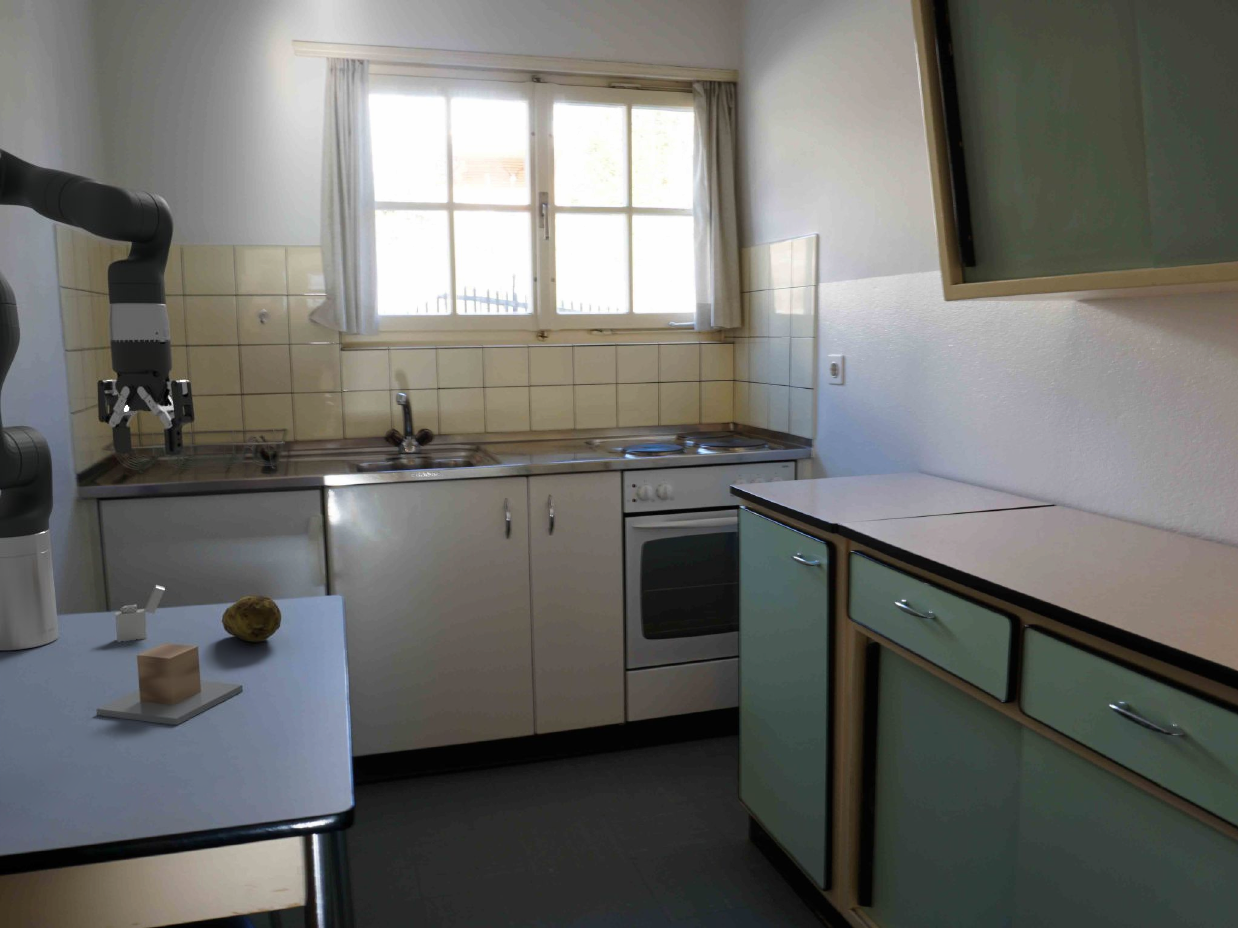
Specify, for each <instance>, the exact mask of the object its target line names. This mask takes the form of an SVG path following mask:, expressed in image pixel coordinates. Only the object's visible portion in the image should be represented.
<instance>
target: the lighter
mask: <svg viewBox="0 0 1238 928" xmlns="http://www.w3.org/2000/svg"><path fill="white" fill-rule="evenodd" d="M152 589H153V590H152V592H151V594H150V596H149V598H148V600H147V603H146V606H145V608H141V609H138V605H137V604H130V605H124V606H122V607H120V609H119V610H120V611H116V612H115V626H116V627H115V628H116V641H117V643H121V641H123V642H128V641H130V640H131V641H137V640H136V639H138V640H145V639H147V638H148V632H147V620H146V619H147V618H146V612H147V613H150V614H152V615H153V614H155V612H156V610H157V609H158V606H159V603H160V601H161V598H162V596H163V595H164V592H165V590H166V589H165V587H164V586H162V585H158V584H155V585H154V588H152Z"/></svg>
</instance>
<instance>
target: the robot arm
mask: <svg viewBox="0 0 1238 928" xmlns="http://www.w3.org/2000/svg"><path fill="white" fill-rule="evenodd" d="M0 205H1V206H19V207H25V208H30V209H32V210H33V211H34V212H36V213H37V214H39V215H40V216H43V218H47V219H49V220H50V221H55V222H58V223H61V224H64V225H68V226H71V227H75V228H79V229H82V230H85V231H86V232H88V233H91V234H92V235H95V236H98V237H100V238H104V239H108V240H112V241H118V242H127V243H128V242H129V243H131V246H130V250H129V254H128V257H127V258H126V259H119V260H116V261H113V262H111V263H110V264H109V265H108V268H107V287H108V288H107V289H108V301H109V302H108V303H109V314H108V315H109V316H108V328H109V330H108V331H109V342H110V355H111V358H110V359H111V369H112V370H113V372H114V373H116V379H115V378H114V379H99V380H98V381H97V411H98V412H97V413H98V415H97V417H98V421H99V422H100V423H105V424H108V425H109V426H110V427H111V430H112V441H113V448H114V450H115V453H116V454H118V455H120V454H121V455H124V454H125V455H126V454H130V453H131V452H132V451H133V448H132V447H133V446H132V435H131V426H129V424H130V422H131V421H132V419H133V417H134V416H135V415H137V414H138V413H139V412H142V411H143V412H152V413H153V415H154V416H156V417H158V418H159V420H160V421H161V422H162V424H163V425H164V427H165V428H164V429H163V434H164V448H165V449H164V450H165V454H166V456H169V457H170V456H179V455H181V453H182V451H183V448H184V443H183V427H184V426H185V425H188V424H191V423H194V422H195V412H194V402H193V394H192V392H193V391H192V385H191V381H190V380H188V379H176V380H171V378H170V372H171V371H172V370H173V359H172V345H171V330H170V329H171V327H170V318H169V314H168V310H167V305H166V304H167V301H166V284H165V272H166V267H167V264H168V258H169V254H170V249H171V245H172V241H173V234H174V218H173V217H174V216H173V214H172V210H171V208H170V206H169V204H168V203H167V201H166V200H165V199H164V198H163V197H162V196H160V195H159V194H156V193H154V192H151V191H150V192H148V191H143V190H138V189H137V190H136V189H133V188H127V187H119V186H116V185H114V186H113V185H110V184H106V183H105V184H104V183H102V182H100V181H98V180H96V179H93V178H90V177H86V176H84V175H78V174H75V173H71V172H67V171H63V170H58V169H53V168H48V167H43V166H39V165H36V164H34V163H31V162H28V161H26V160H24V159H22V158H20V157H18V156H16V155H14V154H12V153H10V152H8V151H6V150H5V149H2V148H0ZM15 295H16V294H15V293H14V290H13V287H12V286H11V284H10V282H9V281H8V279H7V278H6V277H5V274H4V273H3V272H2V271H1V270H0V651H16V650H17V651H18V650H25V649H30V648H36V647H40V646H44V645H47V644H49V643H52V642H54V641H56V640H57V639H58V638H59V628H58V625H59V624H58V615H57V601H56V592H55V591H56V590H55V579H54V569H53V568H54V567H53V566H54V565H53V557H52V556H53V555H52V554H53V553H52V544H51V534H50V517H51V516H52V515H51V514H52V512H53V508H54V490H53V487H54V486H53V484H54V483H53V461H52V453H51V449H50V446H49V443H48V441H47V440H46V438H45V436H44V435H43V434H42V433H41V432H40V431H39V430H38V429H36V428H34V427H32V426H29V425H15V426H13V425H12V426H3V418H2V406H1V405H2V403H1V398H2V391H3V386H4V384H5V383H4V382H5V381H6V378H7V376H8V373H9V371H10V369H11V366H12V364H13V362H14V359H15V357H16V354H17V351H18V349H19V345H20V340H21V329H20V327H21V326H20V321H19V320H20V319H19V314H18V307H17V300H16V296H15ZM170 395H171V396H170ZM108 409H109V410H108Z"/></svg>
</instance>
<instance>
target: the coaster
mask: <svg viewBox="0 0 1238 928" xmlns="http://www.w3.org/2000/svg"><path fill="white" fill-rule="evenodd" d="M200 684H201V692H199V693H197V694H195V695H193V696H191V697H189V698H187V699H184V700H182V701H180V702H178V703H176V704H174V705H167V704H159V703H151V702H143V701H140V691H139V689H137V690H135V691H133V692H130V693H128V694H125V695H124V696H122V697H120V698H117V699H115V700H113V701H110V702H108V703H106V704H104V705H101V706H99V707H97V708H96V716H103V717H110V718H112V717H113V718H117V719H127V720H132V721H133V720H135V721H143V722H150V723H157V724H167V725H174V726H178V725H179V724H182V723H183V722H185V721H188V720H190V719H191V718H194V717H195V716H197V715H199V714H202V713H203V712H204V711H207V710H208V709H211V708H212V707H214V706H217V705H219V704H220V703H222V702H224V701H225V700H228V699H229V698H232V697H234V696H236V695H238V694H240V693H242V692H243V691H244V689H243V688H244V687H243V685H242V684H237V683H227V682H217V681H210V680H209V681H208V680H201V679H200Z"/></svg>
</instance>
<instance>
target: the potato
mask: <svg viewBox="0 0 1238 928" xmlns="http://www.w3.org/2000/svg"><path fill="white" fill-rule="evenodd" d="M221 618H222V619H221V622H222V626H223V629H224V630H225V632H227V634H229V635H231V636H233V637H237V639H238V638H239V639H241V640H243V641H244V642H250V643H251V642H252V643H259V642H263V641H267V640H268V639H269V638H270V637H272V636H273V635H274V634H275V633H276V632H277V631H278V630H279V629H280V627H281V621H282V611H281V610H280V607H279V606H278V605H277V603H276V602H275V601H274V600H273V599H272V598H270V597H268V596H265V595H249V596H244V597H242V598H240V599H239V600H238V601H236V602H235V603H233V604H232V605H230V606H229V607H227V608H226V610H225V611H224V613H223V614H222V617H221Z"/></svg>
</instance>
